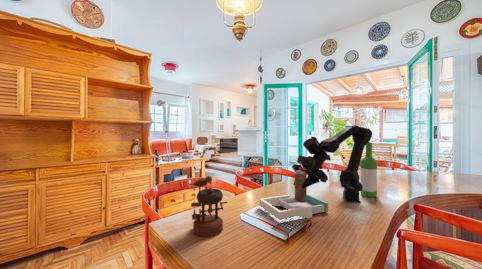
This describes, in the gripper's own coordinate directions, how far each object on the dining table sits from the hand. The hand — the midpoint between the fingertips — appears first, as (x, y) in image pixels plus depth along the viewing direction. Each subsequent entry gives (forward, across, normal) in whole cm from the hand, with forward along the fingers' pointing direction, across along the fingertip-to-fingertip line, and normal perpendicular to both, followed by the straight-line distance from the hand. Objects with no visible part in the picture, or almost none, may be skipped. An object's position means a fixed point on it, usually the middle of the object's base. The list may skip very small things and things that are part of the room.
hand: (298, 186), depth 89 cm
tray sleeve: (+13, 0, +2) cm, 13 cm away
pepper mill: (+4, 0, +6) cm, 7 cm away
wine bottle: (-28, -2, +43) cm, 52 cm away
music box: (+37, +3, -21) cm, 43 cm away
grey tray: (+6, 0, +9) cm, 10 cm away
